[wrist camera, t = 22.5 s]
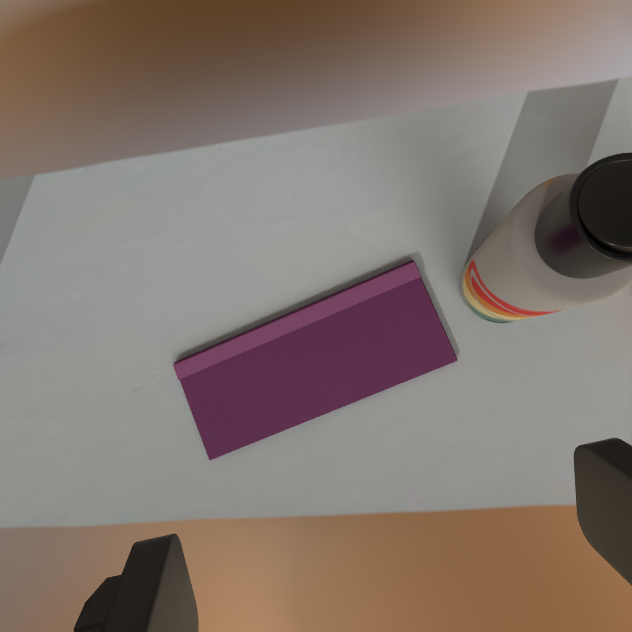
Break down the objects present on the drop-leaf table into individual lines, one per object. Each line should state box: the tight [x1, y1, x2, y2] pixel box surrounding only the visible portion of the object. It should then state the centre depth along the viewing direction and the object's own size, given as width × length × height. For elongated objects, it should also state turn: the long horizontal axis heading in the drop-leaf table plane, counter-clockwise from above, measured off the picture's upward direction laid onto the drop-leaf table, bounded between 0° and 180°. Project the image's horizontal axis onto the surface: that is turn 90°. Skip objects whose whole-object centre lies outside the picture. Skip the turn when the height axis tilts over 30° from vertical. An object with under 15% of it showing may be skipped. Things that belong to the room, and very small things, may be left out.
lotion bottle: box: [461, 153, 632, 323], centre depth 26 cm, size 6×6×20 cm
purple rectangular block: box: [173, 260, 457, 460], centre depth 37 cm, size 20×8×1 cm, turn 113°
